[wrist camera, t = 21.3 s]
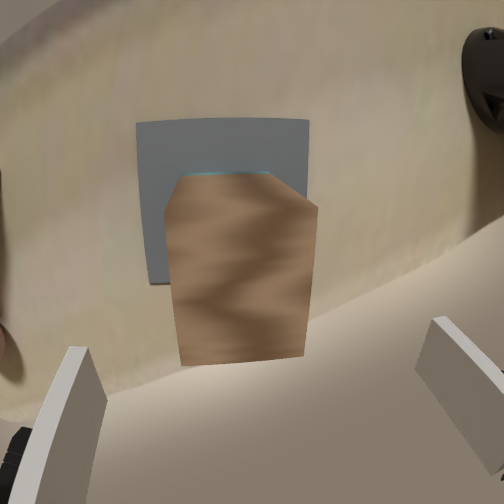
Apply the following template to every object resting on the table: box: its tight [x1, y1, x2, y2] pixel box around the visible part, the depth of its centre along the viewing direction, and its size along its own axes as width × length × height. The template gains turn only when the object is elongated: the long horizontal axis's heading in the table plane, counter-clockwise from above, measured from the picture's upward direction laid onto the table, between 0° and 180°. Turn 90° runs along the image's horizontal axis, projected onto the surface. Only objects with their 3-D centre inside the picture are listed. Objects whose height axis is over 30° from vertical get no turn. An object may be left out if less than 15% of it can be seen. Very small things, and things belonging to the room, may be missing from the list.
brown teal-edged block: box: [164, 171, 318, 366], centre depth 25 cm, size 8×14×10 cm
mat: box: [136, 118, 309, 283], centre depth 31 cm, size 16×16×1 cm
